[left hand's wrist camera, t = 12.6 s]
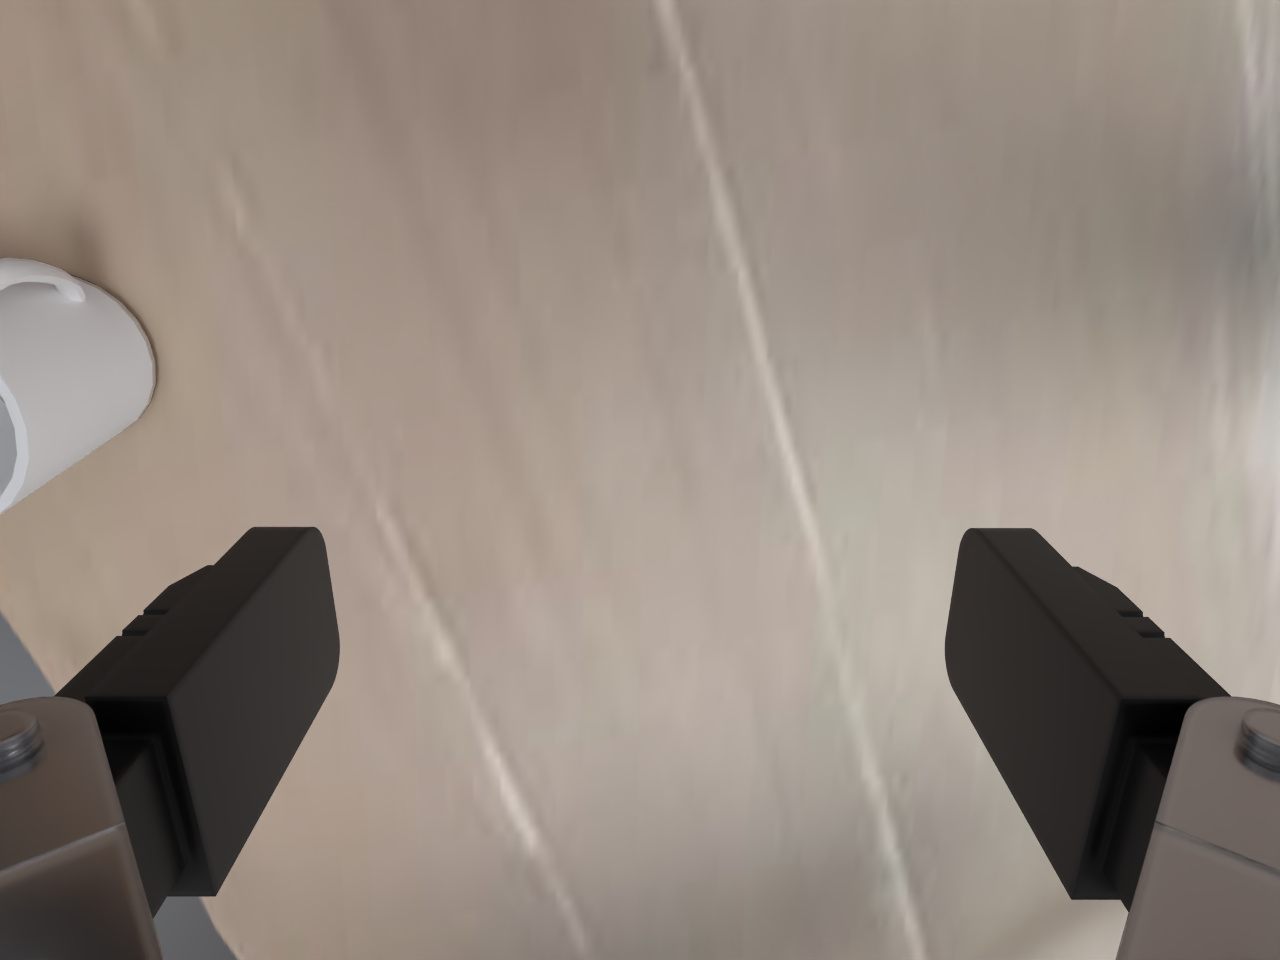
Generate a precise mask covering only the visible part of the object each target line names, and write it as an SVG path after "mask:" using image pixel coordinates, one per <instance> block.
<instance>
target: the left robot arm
mask: <svg viewBox="0 0 1280 960" xmlns="http://www.w3.org/2000/svg"><path fill="white" fill-rule="evenodd" d="M339 654H340V641H339V632H338V625H337V618H336V612H335V605H334V598H333V592H332V585H331V578H330V572H329V565H328V558H327V552H326V546H325V542H324V539H323V536H322V534H321V532H320V531H319V530H318V529H317V528H315V527H253V528H251V529H249V530H248V531H247V532H246V533H245V534H244V535H243V536H242V537H241V538H240V539H239V540H238V541H237V542H236V543H235V544H234V545H233V546H232V547H231V548H230V549H229V550H228V551H227V552H226V553H225V554H224V555H223V556H222V557H221V558H220V559H219V560H218V562H217V563H216V564H215V565H207V566H205V567H203V568H201V569H200V570H198V571H196V572H194V573H192V574H190V575H188V576H187V577H185V578H183V579H181V580H179V581H177V582H175V583H173V584H172V585H170V586H168V587H167V588H166V589H165V590H164V591H163V592H162V593H161V594H160V595H159V596H158V597H157V598H156V599H155V600H154V601H153V602H152V603H151V604H150V605H149V606H147V607H146V608H145V609H144V614H143V615H138V616H137V617H136V618H135V619H134V620H133V621H132V622H131V623H130V624H129V625H128V626H127V627H126V628H125V629H124V630H123V631H122V636H116V637H115V638H114V639H113V640H112V641H111V642H110V643H109V644H108V645H107V646H106V647H105V648H104V649H103V650H102V651H101V652H100V653H99V654H98V655H96V656H95V657H94V658H93V659H92V660H91V661H90V662H89V663H88V664H87V665H86V666H85V667H84V668H83V669H82V670H81V671H80V672H79V673H78V674H77V675H76V676H75V677H74V678H73V679H72V680H70V681H69V682H68V683H67V684H66V685H65V686H64V687H63V688H62V689H61V690H60V691H59V692H58V693H57V694H56V695H55V696H54V697H37V698H28V699H23V700H19V701H13V702H9V703H6V704H2V705H0V960H164V956H163V953H162V949H161V946H160V942H159V939H158V935H157V932H156V928H155V924H154V921H153V918H154V916H155V915H156V913H157V912H158V910H159V908H160V907H161V905H162V903H163V902H164V900H165V899H166V897H167V896H216V895H217V893H218V891H219V889H220V888H221V886H222V884H223V882H224V880H225V879H226V877H227V875H228V873H229V871H230V870H231V868H232V866H233V864H234V862H235V861H236V859H237V857H238V855H239V853H240V852H241V850H242V848H243V846H244V844H245V843H246V841H247V839H248V837H249V835H250V834H251V832H252V830H253V828H254V826H255V825H256V823H257V821H258V819H259V817H260V816H261V814H262V812H263V810H264V808H265V807H266V805H267V803H268V801H269V799H270V798H271V796H272V794H273V792H274V790H275V789H276V787H277V785H278V783H279V781H280V780H281V778H282V776H283V774H284V772H285V771H286V769H287V767H288V765H289V763H290V762H291V760H292V758H293V756H294V754H295V753H296V751H297V749H298V747H299V745H300V744H301V742H302V740H303V738H304V737H305V735H306V733H307V731H308V729H309V728H310V726H311V724H312V722H313V720H314V719H315V717H316V715H317V713H318V711H319V710H320V708H321V706H322V704H323V702H324V701H325V699H326V697H327V695H328V693H329V692H330V690H331V688H332V686H333V684H334V681H335V678H336V674H337V669H338V664H339ZM945 661H946V668H947V673H948V677H949V680H950V683H951V686H952V688H953V690H954V692H955V694H956V695H957V697H958V699H959V701H960V703H961V704H962V706H963V708H964V710H965V711H966V713H967V715H968V717H969V719H970V720H971V722H972V724H973V726H974V727H975V729H976V731H977V733H978V735H979V736H980V738H981V740H982V742H983V743H984V745H985V747H986V749H987V751H988V752H989V754H990V756H991V758H992V759H993V761H994V763H995V765H996V766H997V768H998V770H999V772H1000V774H1001V775H1002V777H1003V779H1004V781H1005V782H1006V784H1007V786H1008V788H1009V790H1010V791H1011V793H1012V795H1013V797H1014V798H1015V800H1016V802H1017V804H1018V806H1019V807H1020V809H1021V811H1022V813H1023V814H1024V816H1025V818H1026V820H1027V822H1028V823H1029V825H1030V827H1031V829H1032V830H1033V832H1034V834H1035V836H1036V838H1037V839H1038V841H1039V843H1040V845H1041V846H1042V848H1043V850H1044V852H1045V854H1046V855H1047V857H1048V859H1049V861H1050V862H1051V864H1052V866H1053V868H1054V870H1055V871H1056V873H1057V875H1058V877H1059V878H1060V880H1061V882H1062V884H1063V886H1064V887H1065V889H1066V891H1067V893H1068V894H1069V896H1070V898H1071V900H1121V901H1122V903H1123V904H1124V906H1125V907H1126V909H1127V911H1128V912H1129V914H1128V917H1127V921H1126V924H1125V928H1124V931H1123V935H1122V938H1121V942H1120V946H1119V949H1118V953H1117V956H1116V960H1280V705H1278V704H1274V703H1271V702H1267V701H1262V700H1257V699H1252V698H1243V697H1231V696H1230V695H1229V694H1228V693H1227V692H1226V691H1225V690H1224V689H1223V688H1222V687H1221V686H1220V685H1219V684H1218V683H1217V682H1216V681H1215V680H1214V679H1213V678H1212V677H1210V676H1209V675H1208V674H1207V673H1206V672H1205V671H1204V670H1203V669H1202V668H1201V667H1200V666H1199V665H1198V664H1197V663H1196V662H1195V661H1194V660H1193V659H1192V658H1191V657H1189V656H1188V655H1187V654H1186V653H1185V652H1184V651H1183V650H1182V649H1181V648H1180V647H1179V646H1178V645H1177V644H1176V643H1175V642H1174V641H1173V640H1172V639H1171V638H1165V637H1164V632H1163V631H1162V630H1161V629H1160V628H1159V627H1158V626H1157V625H1156V624H1155V623H1154V622H1153V621H1152V620H1151V619H1150V618H1149V617H1143V612H1142V611H1141V610H1140V609H1139V608H1138V607H1137V606H1136V605H1135V604H1134V603H1133V602H1132V601H1131V600H1130V599H1129V598H1128V597H1126V596H1125V595H1124V594H1123V593H1122V592H1121V591H1120V590H1119V589H1118V588H1117V587H1115V586H1113V585H1111V584H1110V583H1108V582H1106V581H1104V580H1102V579H1100V578H1098V577H1096V576H1095V575H1093V574H1091V573H1089V572H1087V571H1085V570H1083V569H1081V568H1080V567H1072V566H1071V565H1070V564H1069V563H1068V562H1067V561H1066V560H1065V559H1064V558H1063V557H1062V556H1061V555H1060V554H1059V553H1058V552H1057V551H1056V550H1055V549H1054V548H1053V547H1052V546H1051V545H1050V544H1049V543H1048V542H1047V541H1046V540H1045V539H1044V538H1043V537H1042V536H1041V535H1040V534H1039V533H1038V532H1037V531H1036V530H1034V529H1032V528H970V529H968V530H967V531H966V532H965V534H964V535H963V537H962V540H961V543H960V547H959V552H958V559H957V565H956V572H955V578H954V585H953V591H952V598H951V604H950V611H949V617H948V624H947V631H946V638H945Z"/></svg>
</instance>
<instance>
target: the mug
mask: <svg viewBox="0 0 1280 960" xmlns="http://www.w3.org/2000/svg"><path fill="white" fill-rule="evenodd" d="M155 384H156V375H155V359H154V356H153V352H152V349H151V346H150V342H149V339H148V338H147V336H146V334H145V332H144V331H143V329H142V327H141V326H140V324H139V322H138V320H137V319H136V318H135V317H134V316H133V315H132V314H131V313H130V311H129V310H128V309H127V308H126V307H125V306H124V305H123V304H122V303H121V302H120V301H119V300H117V299H116V298H114V297H113V296H112V295H110V294H109V293H107V292H106V291H105V290H103V289H102V288H100V287H99V286H97V285H94V284H92V283H90V282H87V281H85V280H83V279H80V278H78V277H74V276H71V275H69V274H68V273H66V272H65V271H64V270H62V269H60V268H57V267H55V266H52V265H48V264H45V263H42V262H39V261H35V260H30V259H18V258H2V259H0V514H2V513H3V512H5V511H6V510H8V509H9V508H10V507H12V506H13V505H15V504H16V503H18V502H19V501H21V500H22V499H24V498H25V497H27V496H28V495H30V494H31V493H32V492H34V491H35V490H37V489H38V488H40V487H41V486H43V485H44V484H46V483H47V482H49V481H50V480H51V479H53V478H54V477H56V476H57V475H59V474H60V473H62V472H63V471H65V470H66V469H68V468H69V467H71V466H72V465H73V464H75V463H76V462H78V461H79V460H81V459H82V458H84V457H85V456H87V455H88V454H90V453H91V452H93V451H94V450H95V449H97V448H98V447H100V446H101V445H103V444H104V443H106V442H107V441H109V440H110V439H112V438H113V437H114V436H116V435H117V434H119V433H120V432H122V431H123V430H125V429H126V428H128V427H129V426H130V425H132V424H133V423H134V422H135V421H137V420H138V419H139V418H140V417H141V416H142V414H143V413H144V411H145V410H146V408H147V407H148V405H149V404H150V402H151V399H152V395H153V391H154V388H155Z"/></svg>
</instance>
